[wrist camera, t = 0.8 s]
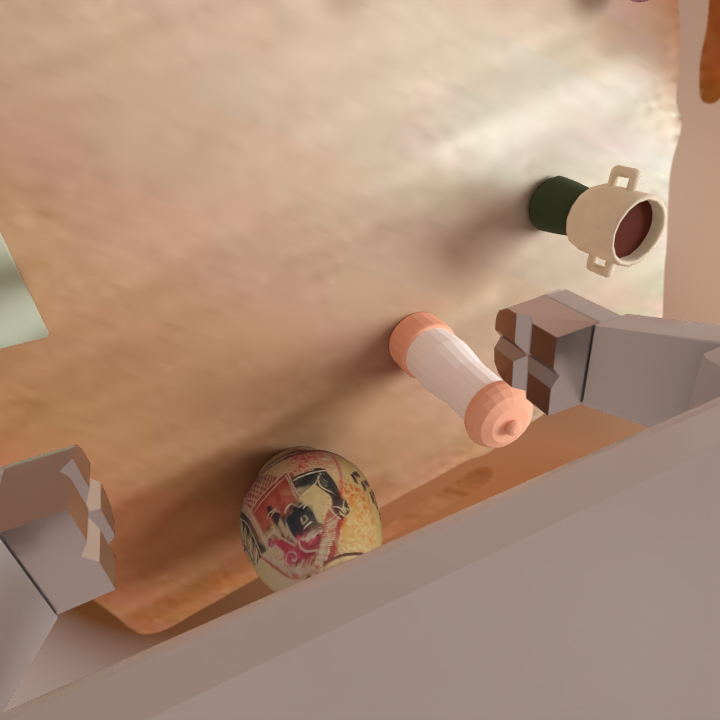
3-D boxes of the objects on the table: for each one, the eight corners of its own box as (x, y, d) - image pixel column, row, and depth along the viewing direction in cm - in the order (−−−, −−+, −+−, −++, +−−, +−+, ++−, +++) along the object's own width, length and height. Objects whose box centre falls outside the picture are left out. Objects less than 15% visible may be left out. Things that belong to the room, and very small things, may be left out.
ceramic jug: (313, 399, 60) (450, 623, 36) (365, 472, 69) (500, 689, 45) (188, 482, 58) (245, 773, 34) (258, 546, 67) (341, 810, 44)
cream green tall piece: (560, 245, 64) (648, 281, 53) (514, 250, 61) (597, 289, 51) (582, 152, 58) (684, 171, 48) (532, 153, 56) (629, 174, 46)
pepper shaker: (391, 315, 58) (491, 405, 43) (445, 308, 61) (557, 390, 46) (386, 370, 62) (477, 470, 47) (437, 361, 65) (539, 453, 49)
